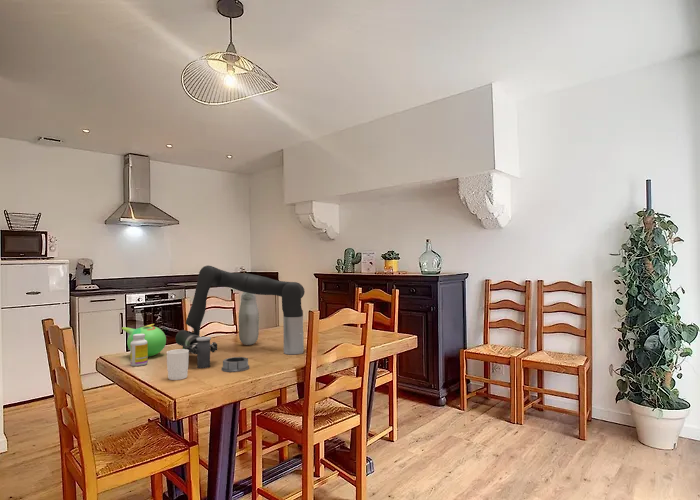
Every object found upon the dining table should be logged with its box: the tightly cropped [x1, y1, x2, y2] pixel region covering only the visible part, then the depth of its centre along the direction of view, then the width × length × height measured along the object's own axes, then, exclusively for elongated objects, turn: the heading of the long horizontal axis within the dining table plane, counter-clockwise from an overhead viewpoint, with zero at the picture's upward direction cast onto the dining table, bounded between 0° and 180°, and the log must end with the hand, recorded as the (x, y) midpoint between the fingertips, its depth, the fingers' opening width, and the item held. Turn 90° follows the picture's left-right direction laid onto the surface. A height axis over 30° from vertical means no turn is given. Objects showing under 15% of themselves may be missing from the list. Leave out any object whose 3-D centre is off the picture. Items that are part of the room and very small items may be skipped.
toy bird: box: [121, 323, 167, 357], centre depth 201 cm, size 18×17×15 cm
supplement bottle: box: [129, 334, 149, 367], centre depth 185 cm, size 7×7×13 cm
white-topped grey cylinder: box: [196, 336, 212, 369], centre depth 180 cm, size 6×6×12 cm
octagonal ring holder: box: [221, 356, 250, 373], centre depth 177 cm, size 11×11×4 cm
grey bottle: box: [238, 292, 260, 346], centre depth 226 cm, size 10×10×28 cm
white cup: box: [166, 348, 190, 381], centre depth 164 cm, size 8×8×10 cm
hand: (205, 350), depth 178 cm, fingers open, 6 cm apart
